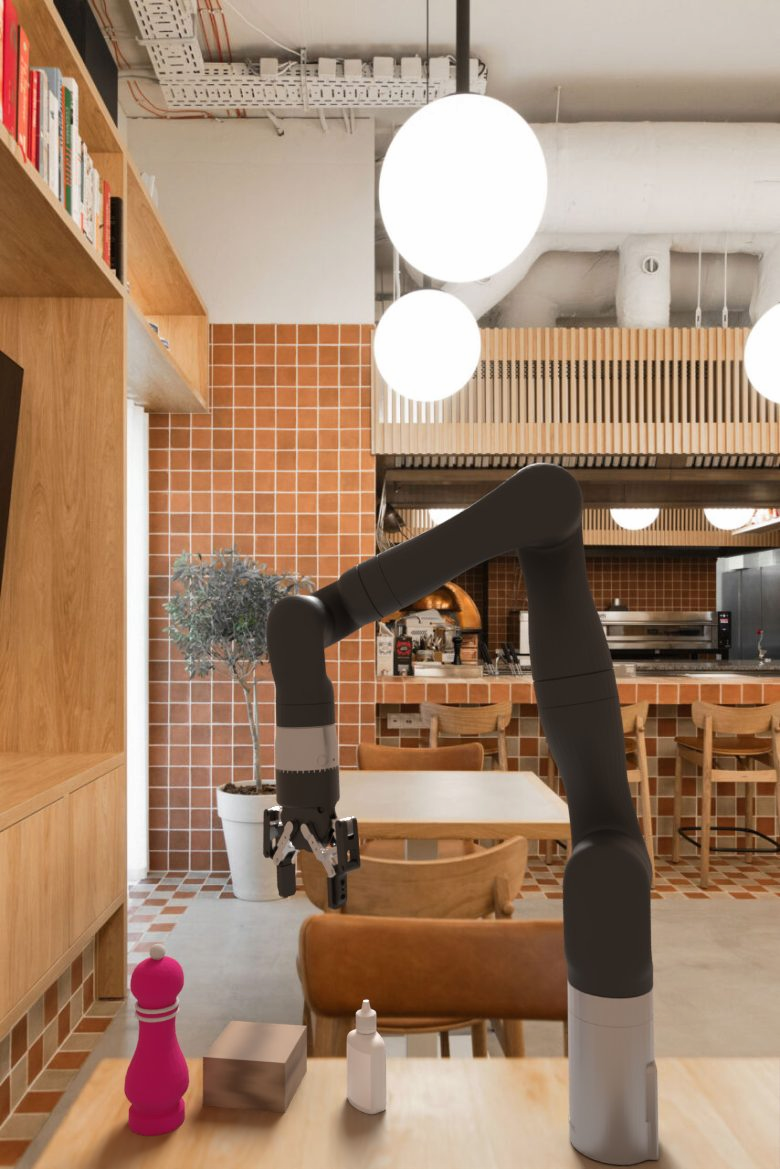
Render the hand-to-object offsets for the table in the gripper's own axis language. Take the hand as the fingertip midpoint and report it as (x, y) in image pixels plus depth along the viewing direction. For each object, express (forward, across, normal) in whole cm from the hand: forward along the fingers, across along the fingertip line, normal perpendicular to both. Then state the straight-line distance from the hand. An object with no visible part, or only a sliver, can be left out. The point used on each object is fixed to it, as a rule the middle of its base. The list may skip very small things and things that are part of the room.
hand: (311, 901), depth 110 cm
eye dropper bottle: (+24, -3, -5) cm, 25 cm away
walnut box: (+24, +9, +2) cm, 26 cm away
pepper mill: (+24, +12, +14) cm, 30 cm away
